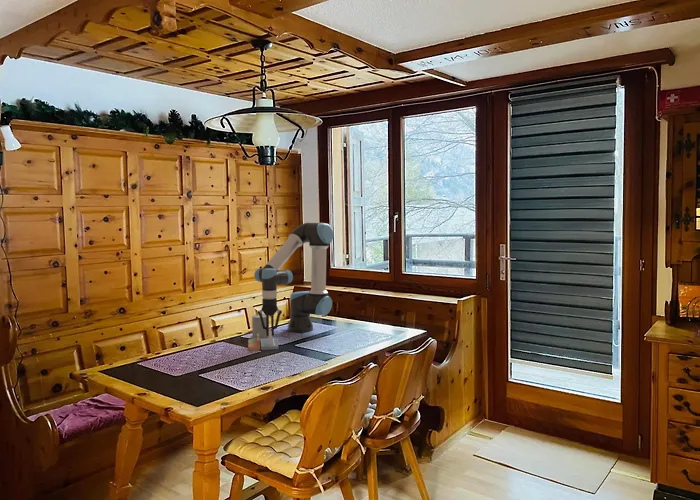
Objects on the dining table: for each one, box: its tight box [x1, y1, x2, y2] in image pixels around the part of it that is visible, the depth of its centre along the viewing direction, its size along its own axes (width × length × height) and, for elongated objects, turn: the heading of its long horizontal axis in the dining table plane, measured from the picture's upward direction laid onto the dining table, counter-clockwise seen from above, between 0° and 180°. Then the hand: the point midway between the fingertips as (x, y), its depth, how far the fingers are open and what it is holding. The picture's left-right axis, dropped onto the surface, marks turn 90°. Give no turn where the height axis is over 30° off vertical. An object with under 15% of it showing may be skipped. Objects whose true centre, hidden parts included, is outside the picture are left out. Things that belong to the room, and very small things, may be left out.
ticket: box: [259, 337, 280, 351], centre depth 291 cm, size 9×18×2 cm, turn 11°
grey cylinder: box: [251, 313, 269, 340], centre depth 308 cm, size 10×10×12 cm
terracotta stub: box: [247, 337, 261, 351], centre depth 285 cm, size 6×8×5 cm
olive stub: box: [247, 333, 259, 343], centre depth 293 cm, size 6×8×5 cm
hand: (270, 341), depth 286 cm, fingers closed
